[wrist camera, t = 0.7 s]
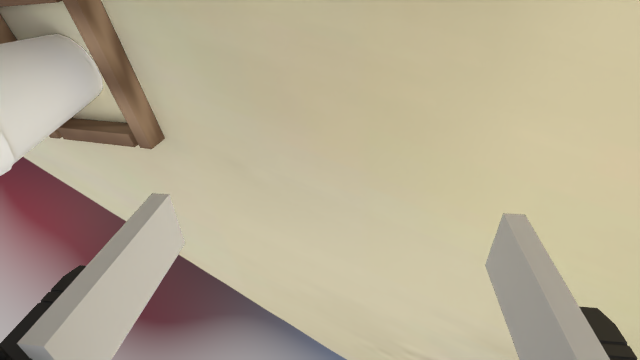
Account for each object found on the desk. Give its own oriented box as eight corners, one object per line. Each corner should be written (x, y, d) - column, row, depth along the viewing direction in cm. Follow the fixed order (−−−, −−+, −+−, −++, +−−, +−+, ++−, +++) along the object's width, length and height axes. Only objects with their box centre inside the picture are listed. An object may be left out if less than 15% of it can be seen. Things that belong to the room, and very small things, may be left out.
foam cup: (52, 94, 38) (-87, 163, 28) (13, 4, 31) (-183, 55, 22) (126, 121, 36) (5, 203, 27) (101, 32, 30) (-69, 100, 21)
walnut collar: (-29, -14, 32) (-53, -9, 30) (87, -27, 27) (65, -22, 25) (65, 128, 41) (50, 137, 39) (164, 138, 36) (151, 148, 34)
